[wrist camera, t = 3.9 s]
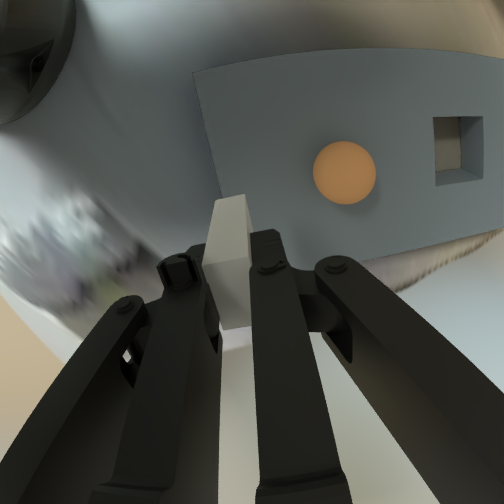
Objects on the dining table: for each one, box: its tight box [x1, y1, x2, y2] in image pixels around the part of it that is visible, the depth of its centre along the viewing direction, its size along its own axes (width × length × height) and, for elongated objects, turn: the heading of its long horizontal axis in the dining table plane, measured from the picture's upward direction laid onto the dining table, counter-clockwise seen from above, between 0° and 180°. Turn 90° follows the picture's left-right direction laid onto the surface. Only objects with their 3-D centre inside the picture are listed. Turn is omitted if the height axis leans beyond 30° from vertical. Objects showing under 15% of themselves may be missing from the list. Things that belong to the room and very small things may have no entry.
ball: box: [313, 141, 376, 204], centre depth 19 cm, size 4×4×4 cm
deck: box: [192, 48, 504, 270], centre depth 22 cm, size 26×16×4 cm, turn 102°
